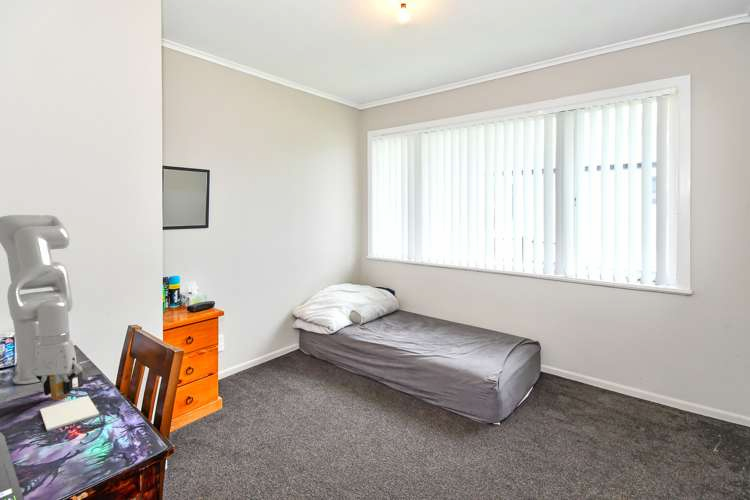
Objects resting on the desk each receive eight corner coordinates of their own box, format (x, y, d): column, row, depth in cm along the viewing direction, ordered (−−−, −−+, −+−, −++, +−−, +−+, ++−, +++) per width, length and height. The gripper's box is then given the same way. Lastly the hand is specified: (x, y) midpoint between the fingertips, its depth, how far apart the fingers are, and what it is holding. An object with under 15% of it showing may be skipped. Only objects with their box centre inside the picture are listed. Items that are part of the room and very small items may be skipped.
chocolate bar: (81, 368, 147) (82, 384, 133) (81, 371, 147) (83, 387, 133) (50, 374, 141) (49, 392, 127) (50, 377, 141) (49, 394, 127)
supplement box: (49, 399, 123) (47, 369, 122) (61, 394, 126) (59, 365, 126) (56, 401, 122) (54, 371, 121) (68, 396, 125) (66, 367, 124)
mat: (40, 410, 116) (39, 409, 116) (88, 397, 125) (88, 395, 125) (47, 431, 105) (46, 429, 105) (99, 415, 114) (99, 413, 114)
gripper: (16, 343, 118) (20, 400, 119) (76, 341, 120) (80, 396, 122) (33, 336, 125) (37, 389, 127) (90, 334, 127) (93, 386, 129)
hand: (58, 392), depth 124 cm, fingers open, 4 cm apart
